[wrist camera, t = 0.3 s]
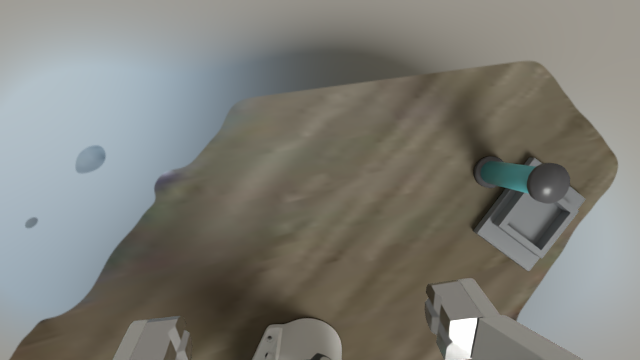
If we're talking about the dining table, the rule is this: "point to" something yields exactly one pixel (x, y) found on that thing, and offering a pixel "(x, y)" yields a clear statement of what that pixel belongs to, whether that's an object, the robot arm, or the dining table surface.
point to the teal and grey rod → (524, 178)
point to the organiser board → (527, 223)
